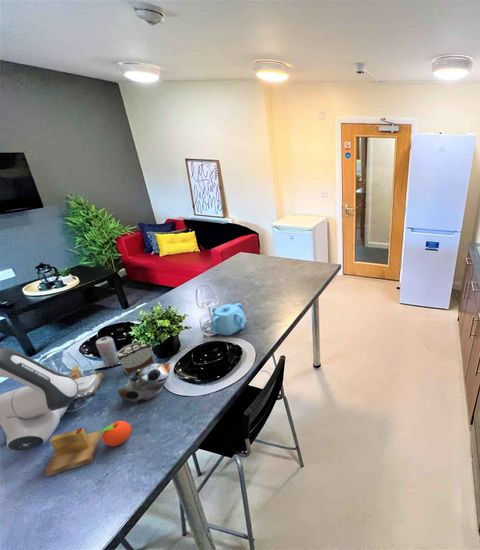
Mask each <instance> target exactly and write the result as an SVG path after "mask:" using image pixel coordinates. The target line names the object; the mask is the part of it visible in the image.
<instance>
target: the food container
mask: <svg viewBox="0 0 480 550" xmlns="http://www.w3.org/2000/svg"><path fill="white" fill-rule="evenodd" d="M139 342H140V341H135V342H132V343H130V344H127V345H125V346H123V347H122V348H121V349H119V350H118V353H117V356H116V359H117V362H118V360H119V361H120V363H119V364H120V365H121V367H122V369H123V370H124V372H125V374H126V375H127V376H131V375H132V374H135V372H136V371H137V370H138V369H140V370H141V371H142V370H143V369H144V368H146V367H148V366H150V365H152V364H155V361H154V355H153V348H152V347H154V345H153V344H152V343H151V344H140V343H139Z"/></svg>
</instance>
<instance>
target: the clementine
mask: <svg viewBox="0 0 480 550" xmlns="http://www.w3.org/2000/svg"><path fill="white" fill-rule="evenodd" d="M101 430H102V431H101V432H100V433H102V432H103V436H102V442H103V443H104V444H105V445H106V446H109V447H117V446H120V445H121V444H124V443H125V442H126V441H127V440H128V439H129V438H130V436H131V433H132V425H131V424H130V423H129V422H127V421H123V420H119V421H115V422H112V423H111V424H109V425H108V426H106V427H104V428H102V429H101ZM100 433H99V434H100ZM99 434H98V435H99ZM97 438H98V437H97Z"/></svg>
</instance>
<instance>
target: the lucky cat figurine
mask: <svg viewBox="0 0 480 550" xmlns="http://www.w3.org/2000/svg"><path fill="white" fill-rule="evenodd" d="M170 371H171V362H169V361H167V362H165V363H156V362H154V363H153V364H151V365H149V366H147V367H145V368H143V369H141V370H140V369H138V370H137V371H136V372H134V375H133V376H130V377H129V378H128V379H127V380H126V382H125V384H124V385H123V387H122V388H120V389H117V390H118V391H117V394H118V395H119V397H121V399H123V400H126V401H127V402H129V403H134V404H139V403H141V402H143V403H146V402H149V401H150V400H152V399H153V398H156V396H158V395H159V394H160V393H162V389H163V386H164V384H165V383H166V382H167V381H168V379H169V373H170Z"/></svg>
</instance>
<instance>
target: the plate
mask: <svg viewBox="0 0 480 550" xmlns="http://www.w3.org/2000/svg"><path fill="white" fill-rule="evenodd" d="M90 375H91V374H89V375H88V376H90ZM93 375H96V376H98V378H99V384H98V386H97V387H96V388H95V390H94V391H93V393H91V394H90V395H88V396H85V397H84V398H86V397H91V396H94V395H95V396H96V393H97V392H98V390H99V388H100V385H101V383H102V381H103V379H104V378H105V375H104V373H103V372H99V373H94V374H93ZM86 376H87V375H85V376H83V377H86ZM82 398H83V397H80V398H79V399H82Z"/></svg>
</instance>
